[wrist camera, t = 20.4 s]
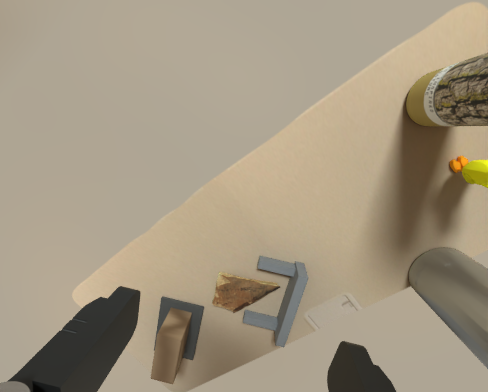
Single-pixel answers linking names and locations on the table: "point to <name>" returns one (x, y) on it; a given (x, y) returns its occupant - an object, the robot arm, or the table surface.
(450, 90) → the bark log stump
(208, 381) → the table surface
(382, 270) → the table surface
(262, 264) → the dock
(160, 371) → the block
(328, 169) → the table surface
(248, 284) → the shard
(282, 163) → the table surface
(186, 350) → the rest mat
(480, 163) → the toy figure
